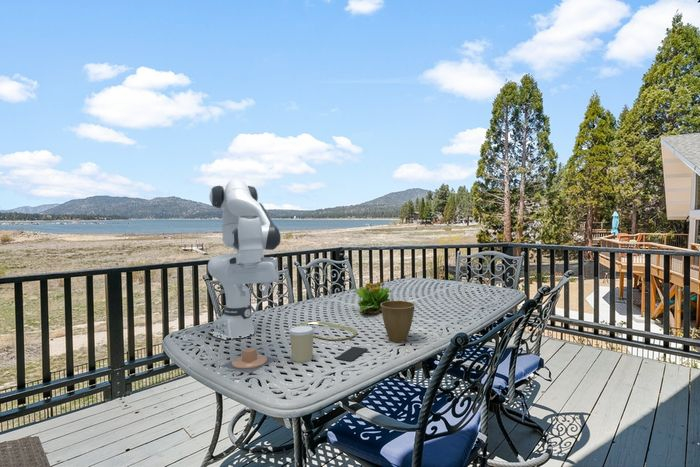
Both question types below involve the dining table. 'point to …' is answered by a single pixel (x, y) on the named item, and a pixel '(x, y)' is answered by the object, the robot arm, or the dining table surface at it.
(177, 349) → the dining table surface
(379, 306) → the potted flower
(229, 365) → the mat
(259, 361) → the lid
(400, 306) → the plant pot
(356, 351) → the phone
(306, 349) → the coffee cup
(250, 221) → the robot arm
